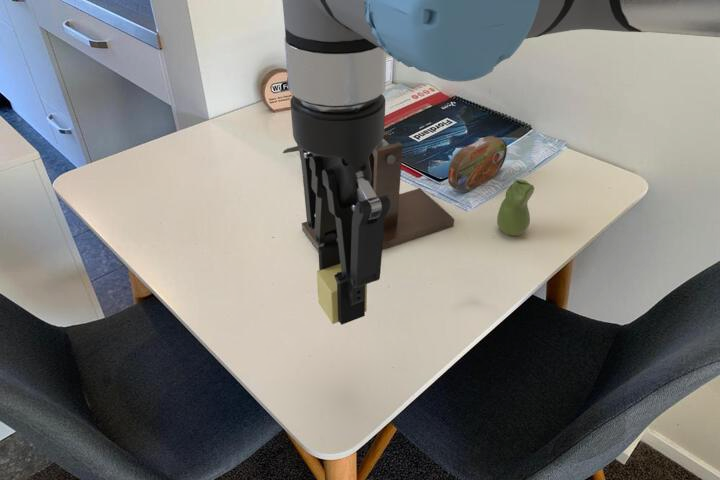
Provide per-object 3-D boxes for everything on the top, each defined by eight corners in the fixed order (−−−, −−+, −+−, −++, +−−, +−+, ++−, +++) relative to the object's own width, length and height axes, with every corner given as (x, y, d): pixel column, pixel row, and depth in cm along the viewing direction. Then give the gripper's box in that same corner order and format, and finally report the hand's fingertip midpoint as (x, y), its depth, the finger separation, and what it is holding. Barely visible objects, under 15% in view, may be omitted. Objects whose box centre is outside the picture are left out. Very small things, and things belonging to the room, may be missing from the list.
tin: (455, 199, 98) (461, 159, 93) (442, 191, 100) (447, 152, 94) (504, 171, 106) (512, 134, 100) (491, 165, 107) (498, 128, 102)
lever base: (329, 267, 82) (326, 176, 72) (302, 229, 90) (295, 142, 79) (453, 226, 91) (467, 139, 81) (419, 194, 99) (427, 111, 88)
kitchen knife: (349, 140, 115) (349, 132, 114) (352, 143, 114) (352, 134, 113) (281, 155, 110) (281, 146, 109) (283, 158, 109) (283, 149, 108)
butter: (332, 324, 54) (331, 292, 51) (318, 302, 56) (316, 271, 53) (366, 311, 55) (367, 280, 52) (351, 290, 58) (350, 259, 55)
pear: (503, 218, 93) (514, 170, 87) (531, 229, 91) (545, 181, 84) (489, 233, 90) (499, 184, 83) (518, 245, 87) (531, 196, 81)
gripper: (438, 125, 37) (414, 346, 51) (334, 53, 48) (339, 250, 63) (342, 149, 34) (345, 375, 48) (256, 66, 45) (280, 269, 60)
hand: (342, 304), depth 55 cm, fingers closed on butter, 4 cm apart
